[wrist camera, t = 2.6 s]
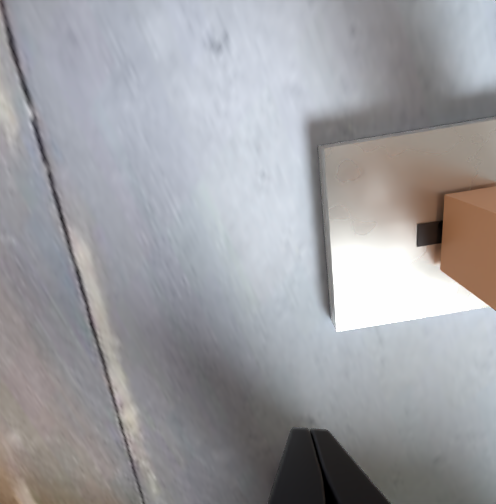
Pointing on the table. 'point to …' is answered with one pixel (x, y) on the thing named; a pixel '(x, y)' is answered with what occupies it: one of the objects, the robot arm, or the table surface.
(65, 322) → the table surface
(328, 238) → the fader console
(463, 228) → the fader tab
